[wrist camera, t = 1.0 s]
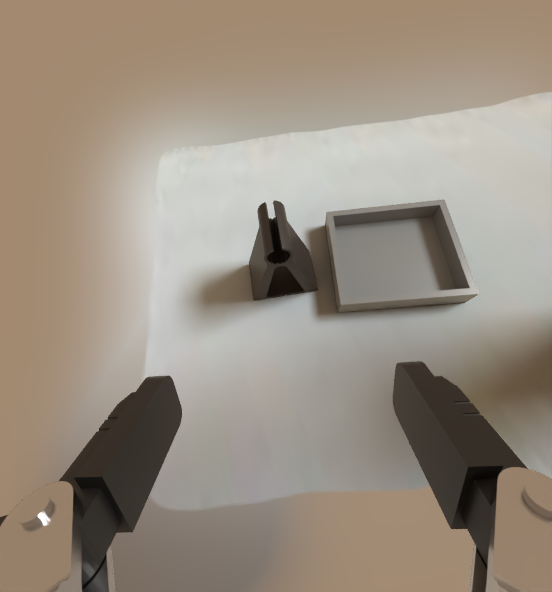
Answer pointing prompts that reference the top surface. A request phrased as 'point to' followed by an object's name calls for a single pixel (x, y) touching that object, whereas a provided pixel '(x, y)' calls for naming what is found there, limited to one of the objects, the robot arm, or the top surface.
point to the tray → (397, 257)
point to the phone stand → (279, 258)
